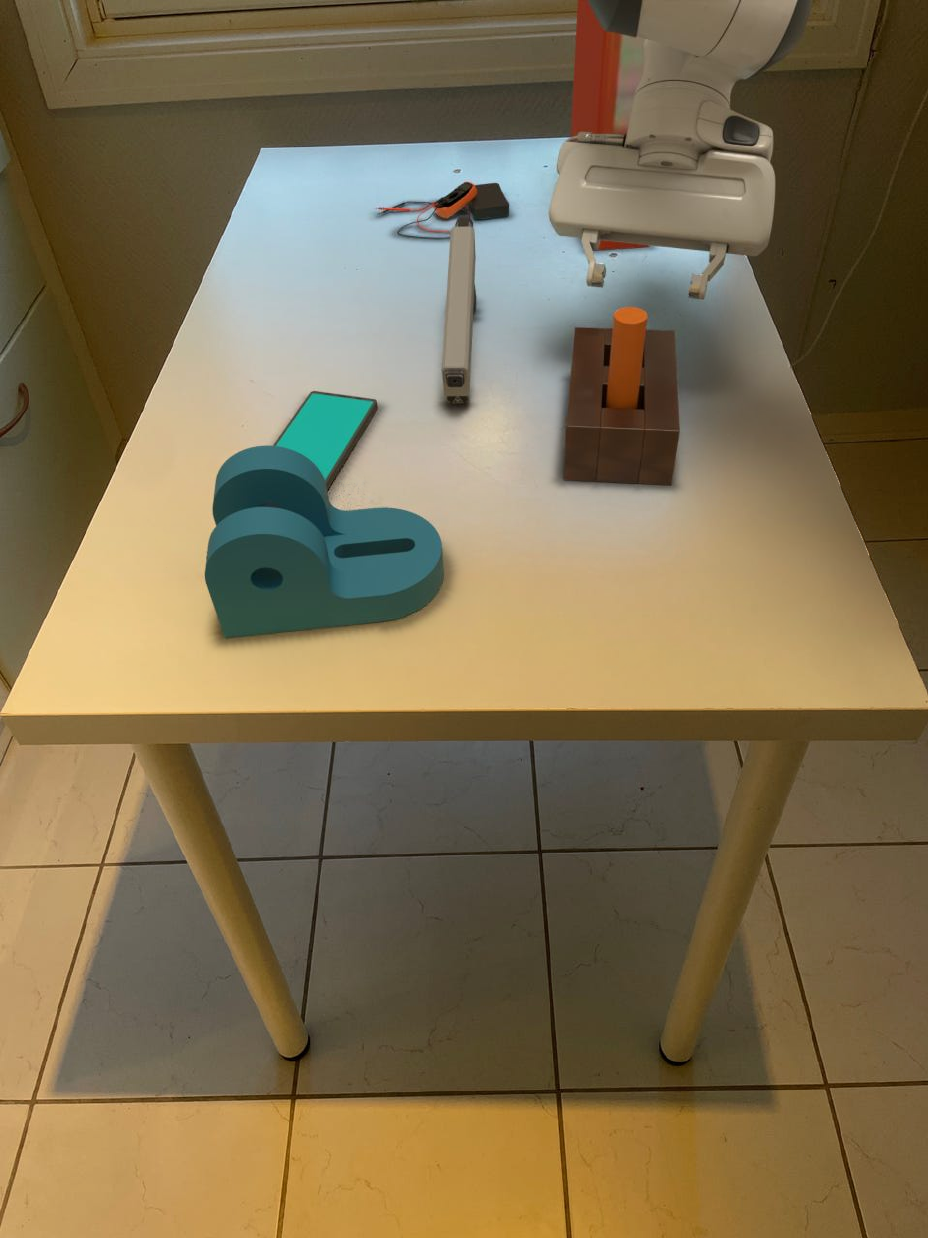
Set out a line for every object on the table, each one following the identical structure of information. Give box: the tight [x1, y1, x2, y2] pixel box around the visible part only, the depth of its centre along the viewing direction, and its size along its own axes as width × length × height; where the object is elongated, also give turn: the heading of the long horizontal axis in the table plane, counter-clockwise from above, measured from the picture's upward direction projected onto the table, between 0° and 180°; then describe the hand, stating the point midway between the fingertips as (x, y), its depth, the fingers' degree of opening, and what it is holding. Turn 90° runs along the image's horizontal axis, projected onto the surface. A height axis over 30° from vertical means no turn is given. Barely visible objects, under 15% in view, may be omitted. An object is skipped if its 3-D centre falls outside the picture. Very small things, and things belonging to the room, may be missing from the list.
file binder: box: [570, 0, 650, 251], centre depth 110 cm, size 8×17×32 cm, turn 4°
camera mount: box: [204, 445, 445, 639], centre depth 74 cm, size 18×10×10 cm, turn 96°
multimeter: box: [374, 181, 510, 240], centre depth 122 cm, size 18×12×3 cm, turn 96°
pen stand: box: [562, 326, 681, 486], centre depth 88 cm, size 10×17×6 cm, turn 173°
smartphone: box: [272, 390, 378, 491], centre depth 90 cm, size 7×1×15 cm
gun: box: [441, 214, 477, 405], centre depth 99 cm, size 2×25×10 cm, turn 177°
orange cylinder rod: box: [606, 306, 648, 409], centre depth 83 cm, size 3×3×14 cm
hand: (644, 290), depth 86 cm, fingers open, 8 cm apart
